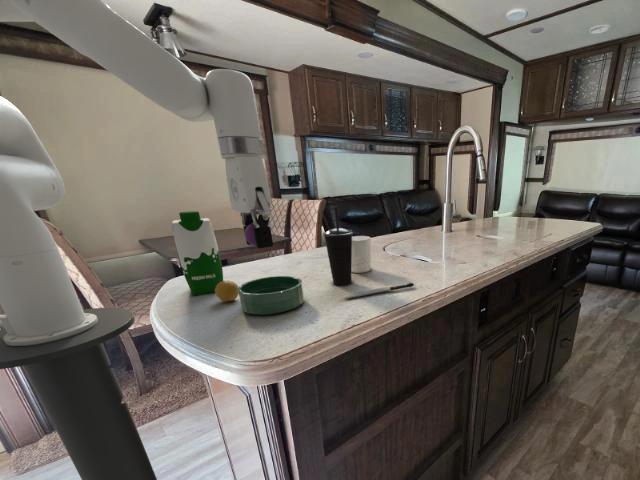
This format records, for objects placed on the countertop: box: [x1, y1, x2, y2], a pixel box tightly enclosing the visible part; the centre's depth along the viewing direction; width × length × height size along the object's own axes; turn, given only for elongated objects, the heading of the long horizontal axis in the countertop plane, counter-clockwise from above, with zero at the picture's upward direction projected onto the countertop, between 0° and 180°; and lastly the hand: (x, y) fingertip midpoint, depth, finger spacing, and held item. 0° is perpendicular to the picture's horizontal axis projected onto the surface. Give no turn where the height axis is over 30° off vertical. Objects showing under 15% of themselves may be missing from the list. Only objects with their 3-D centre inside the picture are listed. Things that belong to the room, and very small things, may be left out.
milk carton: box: [171, 210, 224, 297], centre depth 80 cm, size 9×9×20 cm
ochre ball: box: [214, 279, 239, 303], centre depth 74 cm, size 5×5×5 cm
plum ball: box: [244, 223, 257, 248], centre depth 66 cm, size 5×5×5 cm
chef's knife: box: [343, 282, 415, 300], centre depth 79 cm, size 19×1×3 cm
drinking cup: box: [322, 207, 354, 286], centre depth 83 cm, size 8×8×20 cm
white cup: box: [351, 235, 372, 274], centre depth 97 cm, size 8×8×10 cm
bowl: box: [238, 275, 305, 316], centre depth 71 cm, size 13×13×5 cm
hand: (259, 244), depth 66 cm, fingers closed on plum ball, 4 cm apart
